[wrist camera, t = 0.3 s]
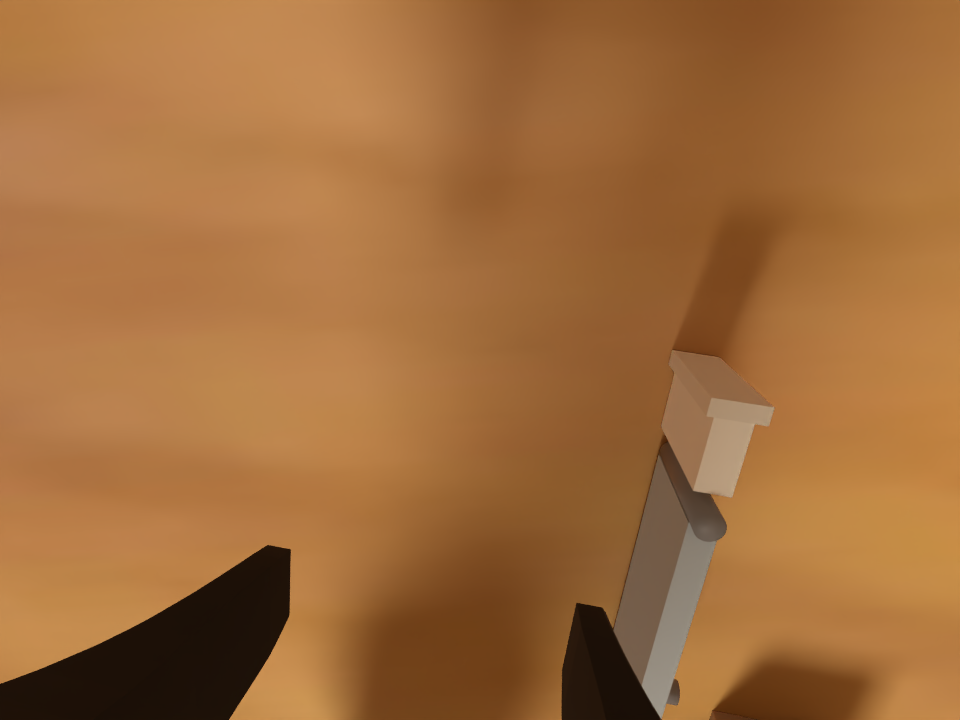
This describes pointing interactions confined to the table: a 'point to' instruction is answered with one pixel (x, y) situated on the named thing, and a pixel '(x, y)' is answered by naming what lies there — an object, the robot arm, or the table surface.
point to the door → (666, 578)
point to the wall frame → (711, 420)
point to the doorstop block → (726, 716)
